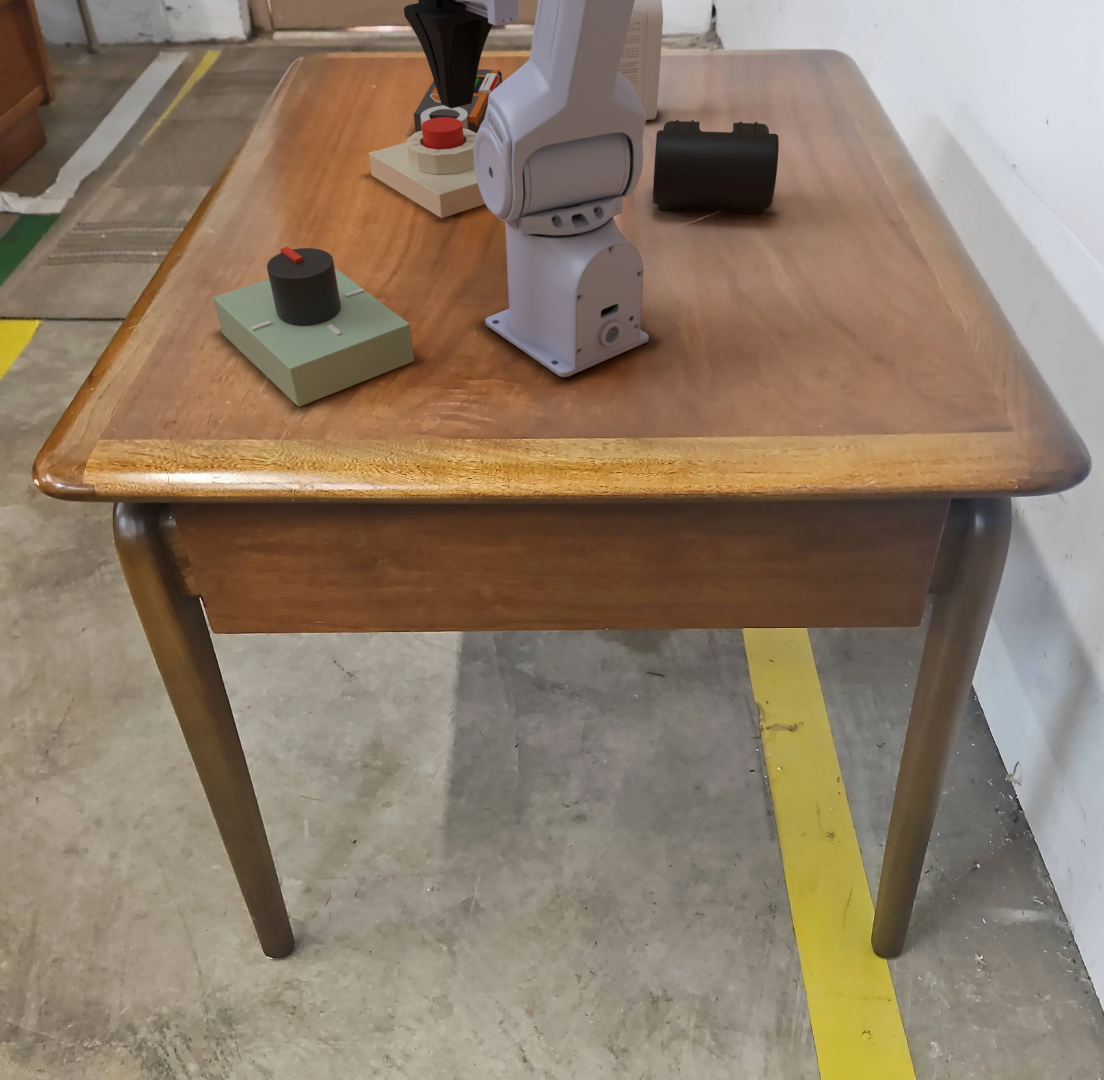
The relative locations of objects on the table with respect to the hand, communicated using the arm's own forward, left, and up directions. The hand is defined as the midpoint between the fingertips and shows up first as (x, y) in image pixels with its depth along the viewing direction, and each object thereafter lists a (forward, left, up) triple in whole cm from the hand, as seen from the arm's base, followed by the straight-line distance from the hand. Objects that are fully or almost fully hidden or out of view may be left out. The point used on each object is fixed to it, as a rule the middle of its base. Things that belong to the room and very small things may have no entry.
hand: (456, 103), depth 80 cm
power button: (+9, -4, -7) cm, 12 cm away
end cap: (-10, -19, -11) cm, 24 cm away
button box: (+9, -4, -10) cm, 14 cm away
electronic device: (+22, -14, -11) cm, 28 cm away
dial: (-9, +19, -7) cm, 22 cm away
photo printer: (+12, -26, -11) cm, 31 cm away
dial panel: (-9, +19, -10) cm, 23 cm away
